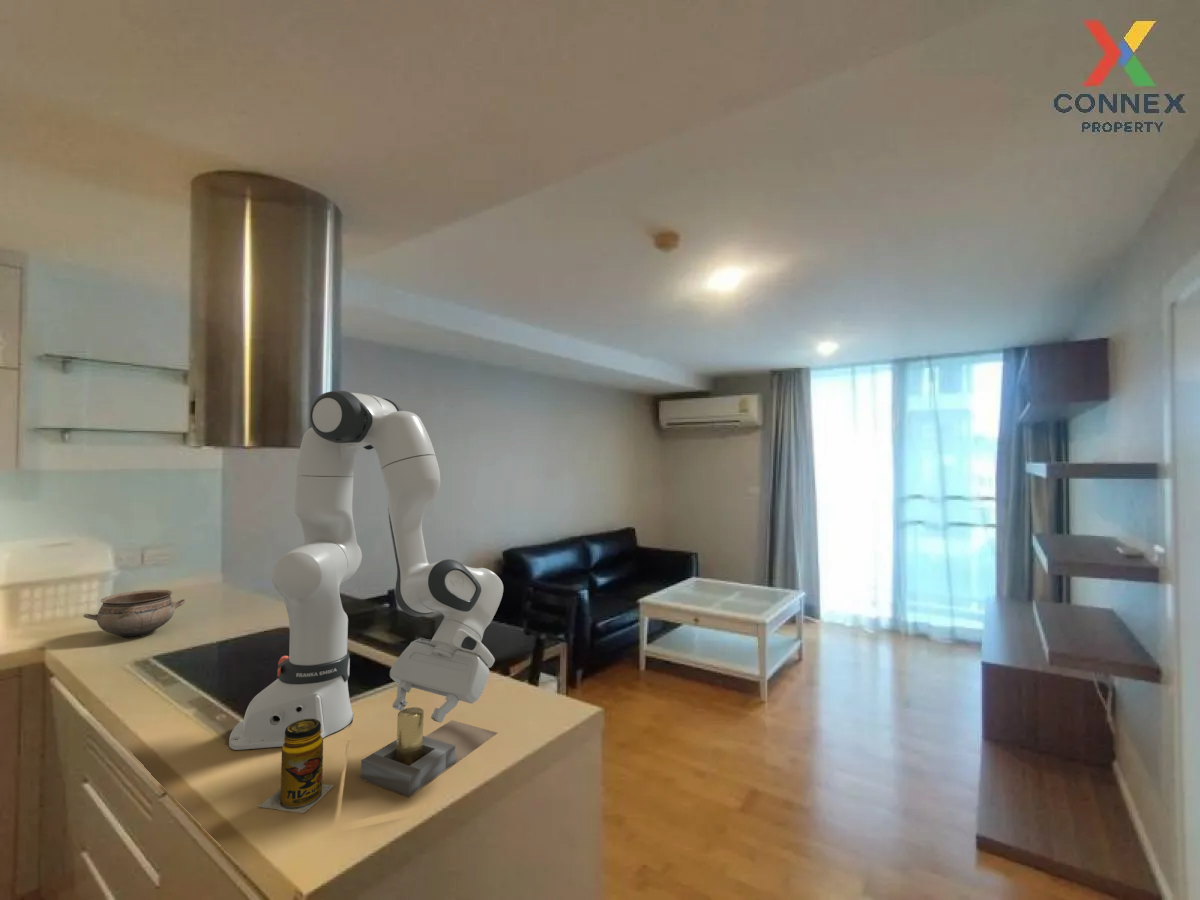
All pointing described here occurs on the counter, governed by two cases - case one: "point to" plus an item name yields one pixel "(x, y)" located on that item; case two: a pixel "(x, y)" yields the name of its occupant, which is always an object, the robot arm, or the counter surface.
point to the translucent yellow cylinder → (409, 735)
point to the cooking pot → (135, 612)
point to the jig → (423, 758)
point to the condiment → (300, 768)
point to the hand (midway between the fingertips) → (415, 714)
